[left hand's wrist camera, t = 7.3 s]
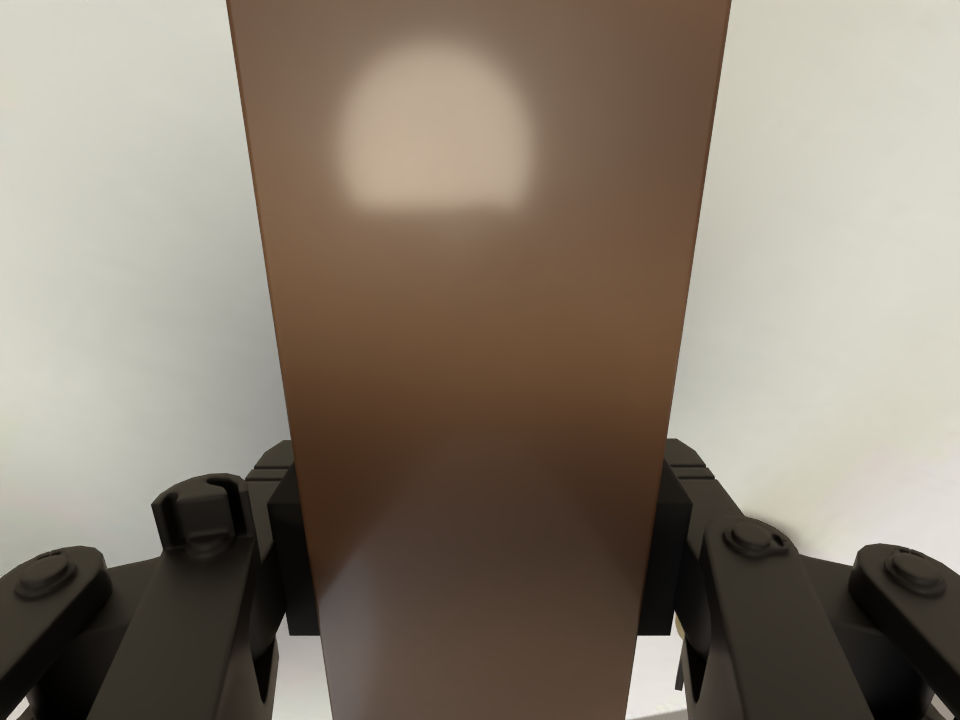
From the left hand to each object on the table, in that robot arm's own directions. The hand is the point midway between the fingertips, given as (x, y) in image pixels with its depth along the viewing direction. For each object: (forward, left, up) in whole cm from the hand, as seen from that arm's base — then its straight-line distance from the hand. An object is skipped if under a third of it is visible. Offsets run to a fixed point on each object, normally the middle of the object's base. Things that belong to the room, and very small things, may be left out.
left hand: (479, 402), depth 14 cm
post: (+8, +25, -1) cm, 27 cm away
